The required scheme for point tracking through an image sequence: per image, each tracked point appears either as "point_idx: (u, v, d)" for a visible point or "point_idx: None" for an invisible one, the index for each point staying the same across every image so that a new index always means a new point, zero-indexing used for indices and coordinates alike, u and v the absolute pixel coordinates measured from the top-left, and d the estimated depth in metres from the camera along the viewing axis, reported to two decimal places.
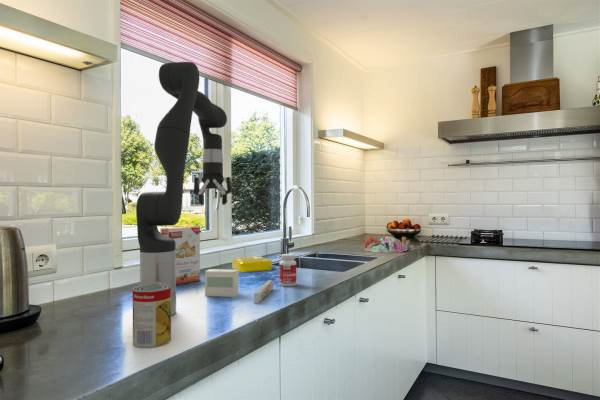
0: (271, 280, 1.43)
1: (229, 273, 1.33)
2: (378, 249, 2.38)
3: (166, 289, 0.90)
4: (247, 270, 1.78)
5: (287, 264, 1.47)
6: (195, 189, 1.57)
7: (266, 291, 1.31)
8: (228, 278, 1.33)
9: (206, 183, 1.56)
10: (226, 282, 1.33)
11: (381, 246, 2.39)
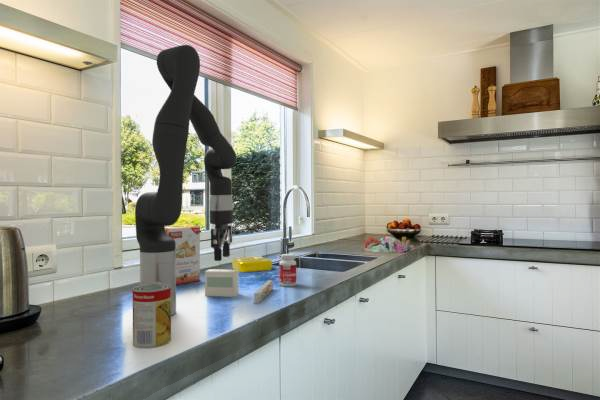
0: (271, 280, 1.43)
1: (229, 273, 1.33)
2: (378, 249, 2.39)
3: (166, 289, 0.90)
4: (247, 270, 1.78)
5: (287, 264, 1.47)
6: (219, 243, 1.29)
7: (266, 291, 1.31)
8: (228, 277, 1.33)
9: (225, 234, 1.33)
10: (226, 282, 1.33)
11: (381, 246, 2.39)
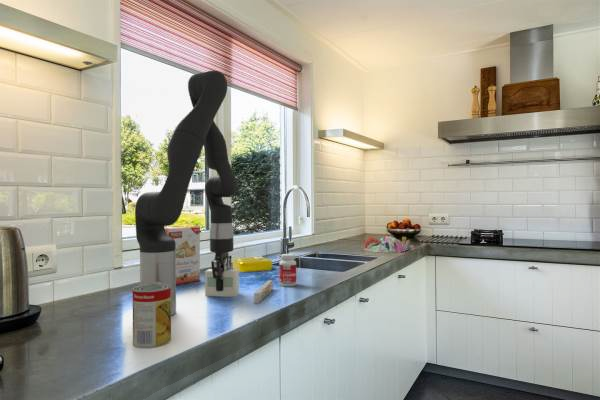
0: (271, 280, 1.43)
1: (229, 273, 1.33)
2: (378, 249, 2.39)
3: (166, 289, 0.90)
4: (247, 270, 1.78)
5: (287, 264, 1.47)
6: (220, 274, 1.30)
7: (266, 291, 1.31)
8: (228, 277, 1.33)
9: (225, 263, 1.34)
10: (226, 282, 1.33)
11: (381, 246, 2.39)
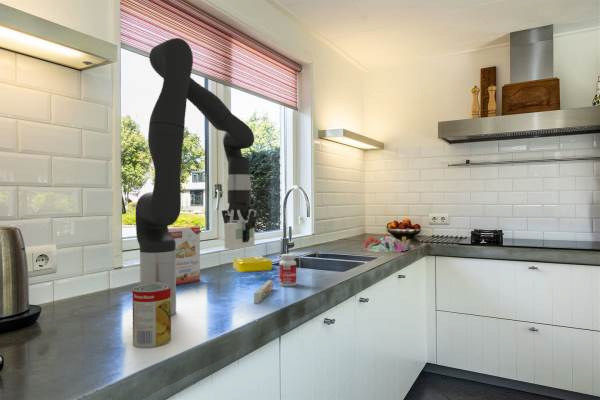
0: (271, 280, 1.43)
1: None
2: (378, 249, 2.39)
3: (166, 289, 0.90)
4: (246, 270, 1.78)
5: (287, 264, 1.47)
6: None
7: (266, 291, 1.31)
8: None
9: None
10: (249, 232, 1.35)
11: (381, 246, 2.40)
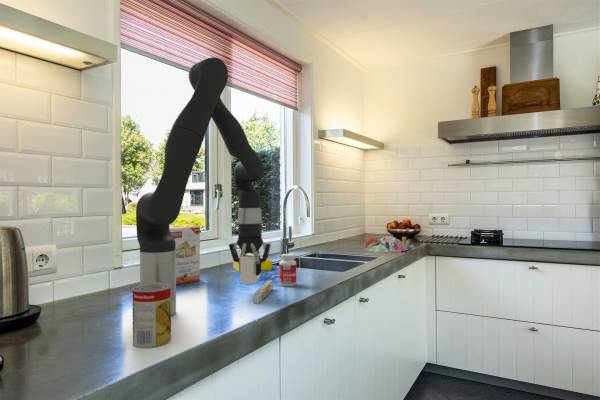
0: (271, 280, 1.43)
1: None
2: (378, 249, 2.40)
3: (166, 289, 0.90)
4: None
5: (287, 264, 1.47)
6: None
7: (266, 291, 1.31)
8: None
9: None
10: None
11: (381, 246, 2.40)
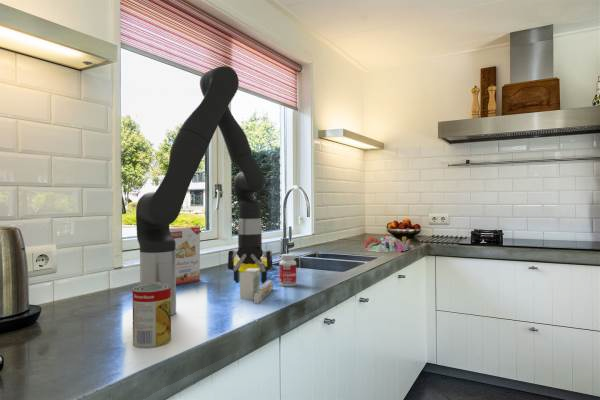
0: (271, 280, 1.43)
1: (258, 271, 1.37)
2: (378, 249, 2.40)
3: (166, 289, 0.90)
4: None
5: (287, 264, 1.47)
6: None
7: (266, 291, 1.31)
8: (258, 275, 1.37)
9: None
10: (258, 280, 1.36)
11: (381, 246, 2.40)
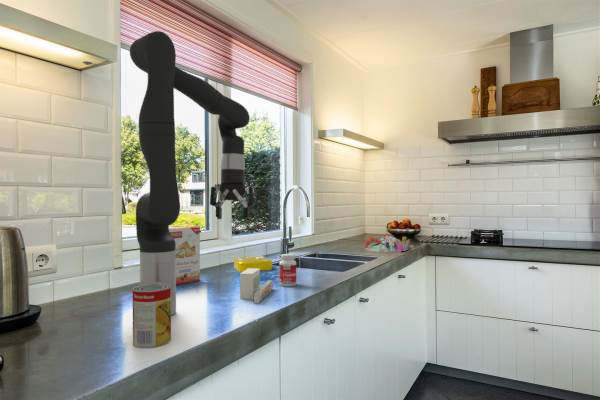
0: (271, 280, 1.43)
1: (258, 271, 1.37)
2: (378, 249, 2.40)
3: (166, 289, 0.90)
4: None
5: (287, 264, 1.47)
6: None
7: (266, 291, 1.31)
8: (258, 275, 1.37)
9: None
10: (258, 280, 1.36)
11: (381, 246, 2.41)
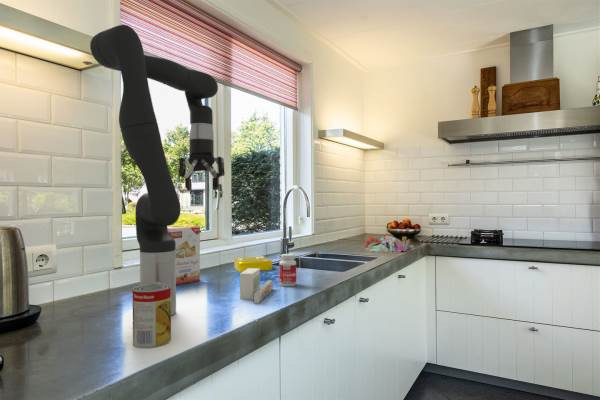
0: (271, 280, 1.43)
1: (258, 271, 1.37)
2: (379, 249, 2.40)
3: (166, 289, 0.90)
4: None
5: (287, 264, 1.47)
6: None
7: (266, 291, 1.31)
8: (258, 275, 1.37)
9: None
10: (258, 280, 1.36)
11: (382, 246, 2.41)
